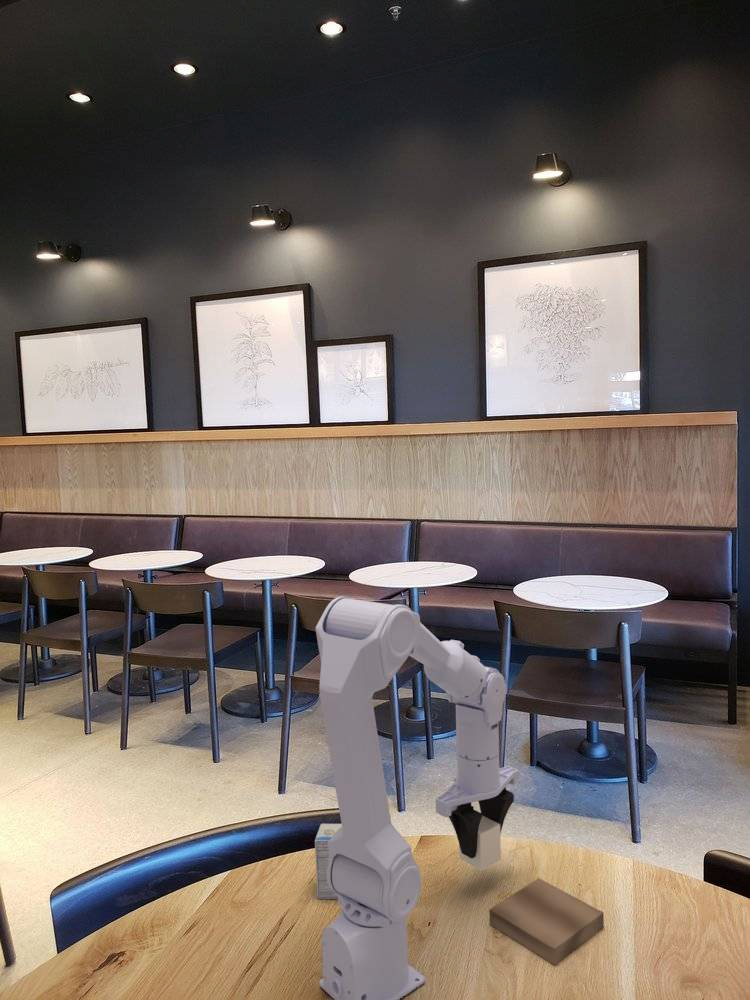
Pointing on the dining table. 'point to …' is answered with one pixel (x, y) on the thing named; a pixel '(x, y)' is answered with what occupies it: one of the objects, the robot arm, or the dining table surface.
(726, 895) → the dining table surface
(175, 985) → the dining table surface
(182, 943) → the dining table surface
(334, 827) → the medicine box
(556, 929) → the walnut plinth
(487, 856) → the off-white block
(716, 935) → the dining table surface
